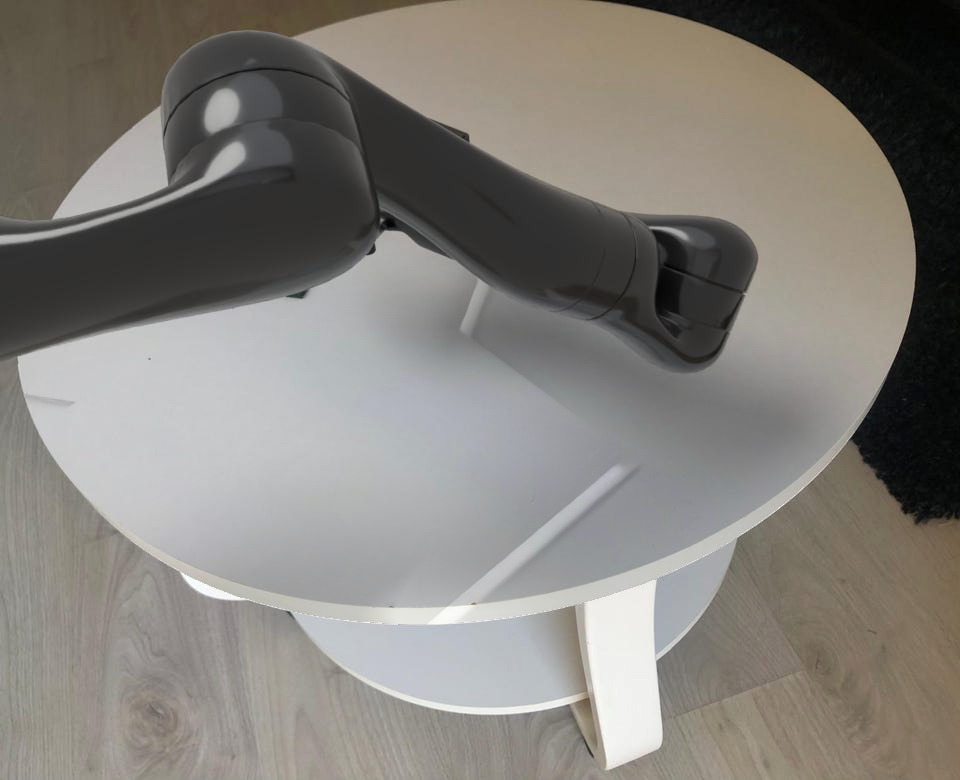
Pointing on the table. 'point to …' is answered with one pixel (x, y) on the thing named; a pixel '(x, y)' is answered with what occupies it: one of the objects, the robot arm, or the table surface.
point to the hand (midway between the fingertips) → (319, 155)
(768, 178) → the table surface
